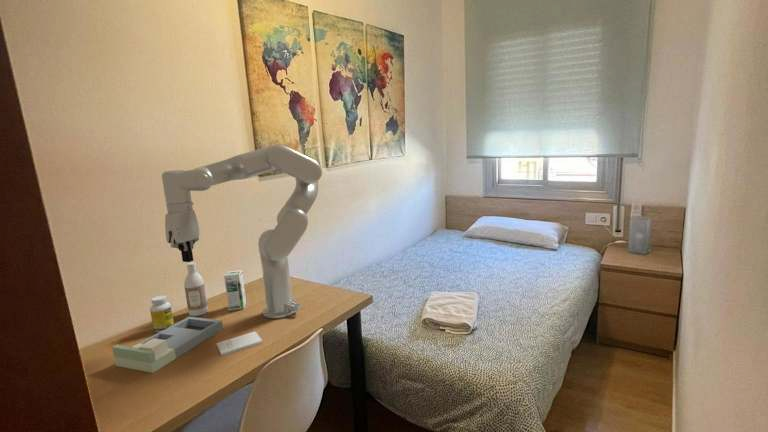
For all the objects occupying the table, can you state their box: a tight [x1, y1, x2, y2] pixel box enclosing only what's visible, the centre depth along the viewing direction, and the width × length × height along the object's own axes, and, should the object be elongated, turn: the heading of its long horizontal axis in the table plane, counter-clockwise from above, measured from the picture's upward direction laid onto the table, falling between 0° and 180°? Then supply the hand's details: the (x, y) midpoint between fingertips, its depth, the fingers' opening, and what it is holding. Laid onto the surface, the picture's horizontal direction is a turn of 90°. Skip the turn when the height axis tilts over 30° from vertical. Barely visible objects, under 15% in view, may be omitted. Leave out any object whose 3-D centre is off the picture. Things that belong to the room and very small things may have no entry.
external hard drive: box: [215, 331, 263, 357], centre depth 127 cm, size 2×8×12 cm
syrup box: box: [223, 269, 247, 312], centre depth 156 cm, size 6×6×14 cm
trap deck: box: [111, 316, 224, 374], centre depth 128 cm, size 15×28×6 cm, turn 160°
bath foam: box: [183, 261, 209, 317], centre depth 152 cm, size 7×7×20 cm
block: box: [139, 338, 168, 359], centre depth 117 cm, size 5×5×4 cm
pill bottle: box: [149, 295, 175, 333], centre depth 141 cm, size 6×6×12 cm
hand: (188, 261), depth 135 cm, fingers closed
